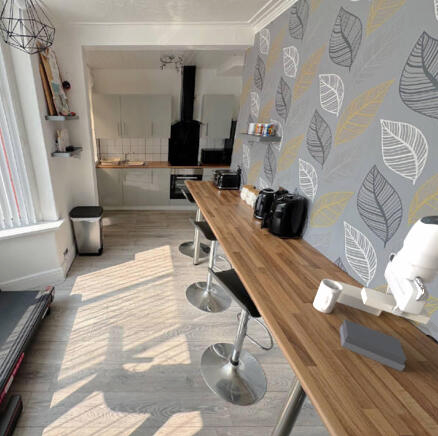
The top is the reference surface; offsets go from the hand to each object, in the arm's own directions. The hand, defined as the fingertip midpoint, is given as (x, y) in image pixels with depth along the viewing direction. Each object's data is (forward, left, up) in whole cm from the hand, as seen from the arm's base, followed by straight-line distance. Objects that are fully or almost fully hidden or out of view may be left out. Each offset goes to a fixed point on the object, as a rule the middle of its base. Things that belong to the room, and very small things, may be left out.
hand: (391, 305), depth 73 cm
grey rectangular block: (0, +1, -18) cm, 18 cm away
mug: (+17, -3, -18) cm, 25 cm away
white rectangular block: (+14, -21, -18) cm, 31 cm away
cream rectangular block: (0, 0, -1) cm, 1 cm away
